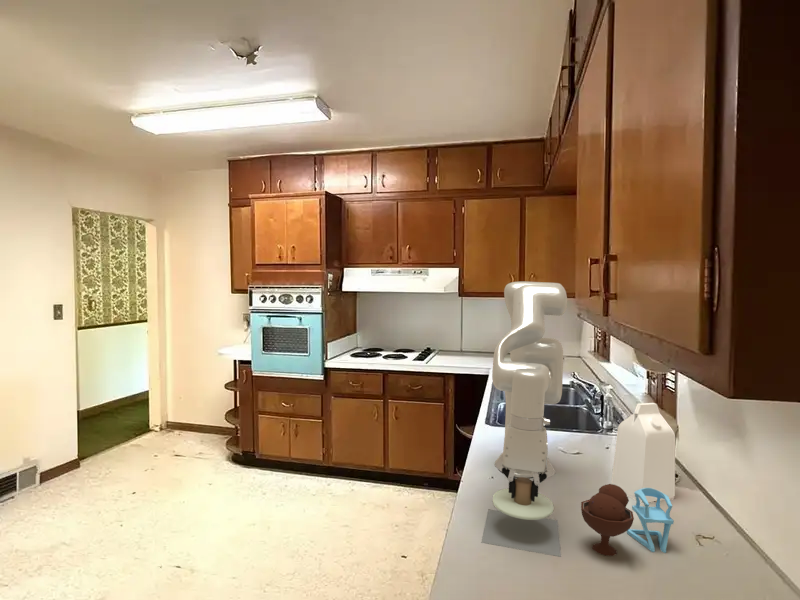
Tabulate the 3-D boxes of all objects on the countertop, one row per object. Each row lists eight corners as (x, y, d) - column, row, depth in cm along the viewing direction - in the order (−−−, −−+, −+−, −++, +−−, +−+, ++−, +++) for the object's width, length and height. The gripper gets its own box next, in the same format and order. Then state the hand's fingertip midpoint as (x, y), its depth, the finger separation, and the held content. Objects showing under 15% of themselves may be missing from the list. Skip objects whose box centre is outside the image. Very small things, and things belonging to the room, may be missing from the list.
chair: (641, 551, 108) (644, 499, 108) (626, 532, 116) (629, 483, 116) (676, 554, 108) (680, 501, 107) (658, 534, 116) (662, 485, 116)
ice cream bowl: (586, 533, 115) (590, 471, 114) (637, 551, 108) (641, 485, 107) (570, 551, 107) (574, 485, 106) (624, 572, 100) (628, 501, 99)
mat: (488, 511, 125) (488, 508, 125) (557, 522, 120) (557, 520, 120) (481, 544, 108) (481, 542, 108) (560, 559, 104) (561, 556, 104)
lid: (495, 487, 123) (496, 465, 123) (552, 496, 120) (553, 473, 119) (490, 513, 110) (491, 488, 109) (554, 524, 106) (555, 498, 106)
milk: (642, 482, 147) (647, 398, 146) (674, 499, 136) (680, 407, 135) (610, 486, 143) (615, 399, 143) (641, 503, 133) (646, 410, 132)
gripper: (563, 421, 115) (559, 496, 116) (491, 413, 119) (488, 485, 120) (565, 431, 108) (560, 510, 109) (489, 422, 112) (485, 499, 113)
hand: (522, 496), depth 115 cm, fingers closed on lid, 4 cm apart
